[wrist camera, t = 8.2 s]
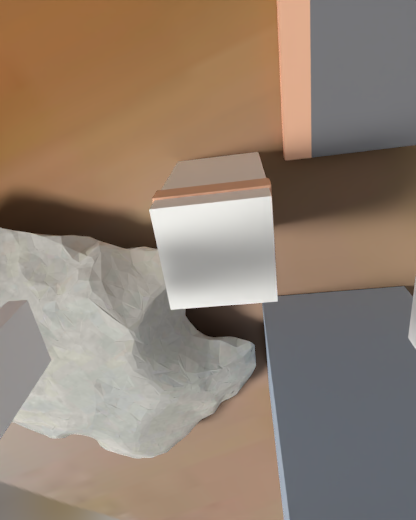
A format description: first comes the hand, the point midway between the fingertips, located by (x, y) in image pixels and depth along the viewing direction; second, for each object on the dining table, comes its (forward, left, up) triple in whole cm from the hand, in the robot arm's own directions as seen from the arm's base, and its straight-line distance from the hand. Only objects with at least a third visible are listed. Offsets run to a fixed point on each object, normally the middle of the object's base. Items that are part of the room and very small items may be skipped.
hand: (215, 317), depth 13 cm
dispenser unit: (+12, +7, -13) cm, 19 cm away
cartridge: (0, 0, -13) cm, 13 cm away
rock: (+8, -11, -13) cm, 19 cm away
